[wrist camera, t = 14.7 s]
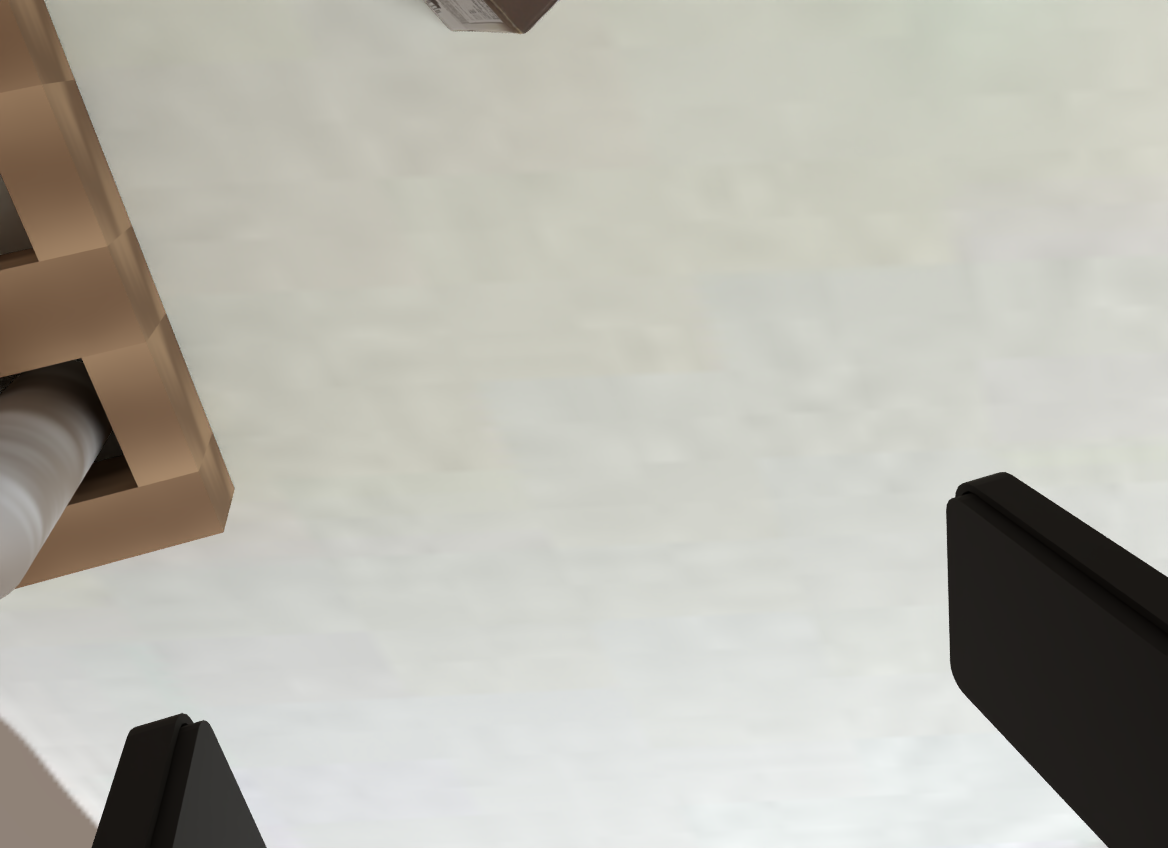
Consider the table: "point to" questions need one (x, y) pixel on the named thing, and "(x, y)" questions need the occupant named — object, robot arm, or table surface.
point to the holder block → (85, 346)
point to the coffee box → (491, 14)
